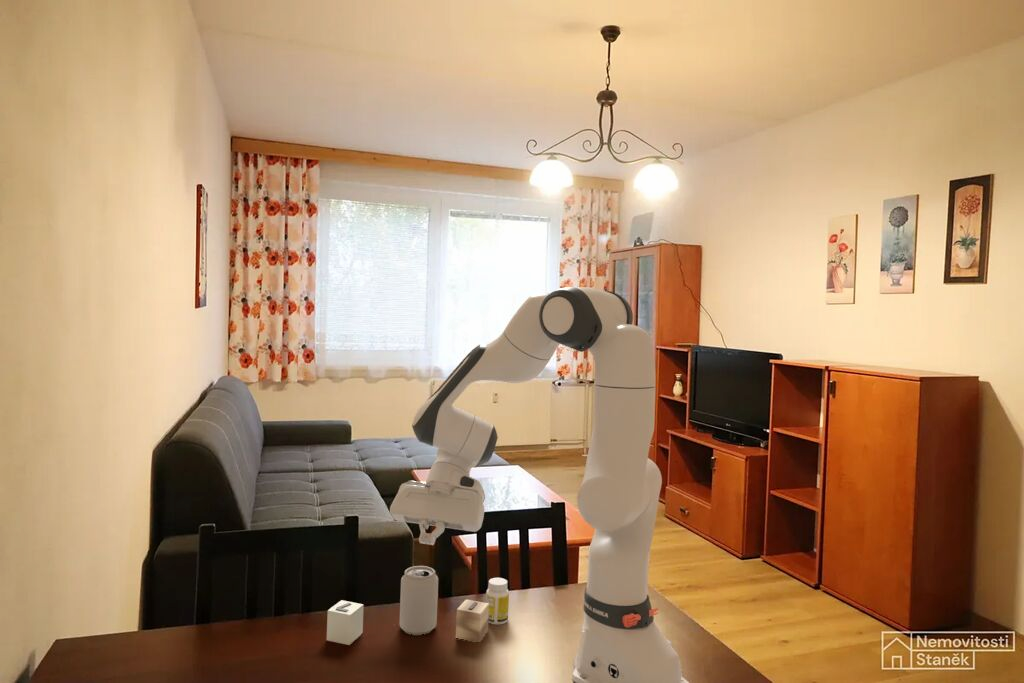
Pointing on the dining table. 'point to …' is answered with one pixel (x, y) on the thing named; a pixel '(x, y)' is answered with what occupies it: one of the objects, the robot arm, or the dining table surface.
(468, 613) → the birch block one
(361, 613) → the cream white block seven
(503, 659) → the dining table surface
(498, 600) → the supplement bottle
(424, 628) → the can
